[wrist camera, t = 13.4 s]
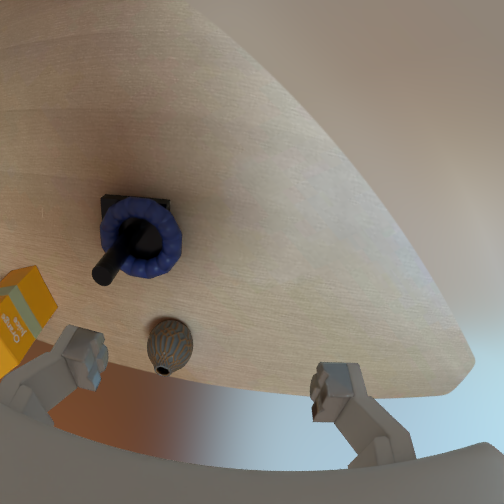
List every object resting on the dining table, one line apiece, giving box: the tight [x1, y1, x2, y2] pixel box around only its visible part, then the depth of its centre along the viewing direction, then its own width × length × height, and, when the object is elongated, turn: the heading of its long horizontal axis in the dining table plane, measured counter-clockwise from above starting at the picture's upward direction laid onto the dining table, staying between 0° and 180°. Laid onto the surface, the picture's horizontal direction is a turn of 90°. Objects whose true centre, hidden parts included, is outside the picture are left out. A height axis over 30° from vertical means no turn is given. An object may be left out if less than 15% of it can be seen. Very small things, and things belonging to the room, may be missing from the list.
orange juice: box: [0, 265, 58, 379], centre depth 37 cm, size 8×9×20 cm
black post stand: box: [92, 194, 170, 286], centre depth 34 cm, size 9×9×12 cm
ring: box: [100, 197, 182, 279], centre depth 37 cm, size 11×11×2 cm
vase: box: [147, 321, 193, 377], centre depth 44 cm, size 7×7×9 cm
